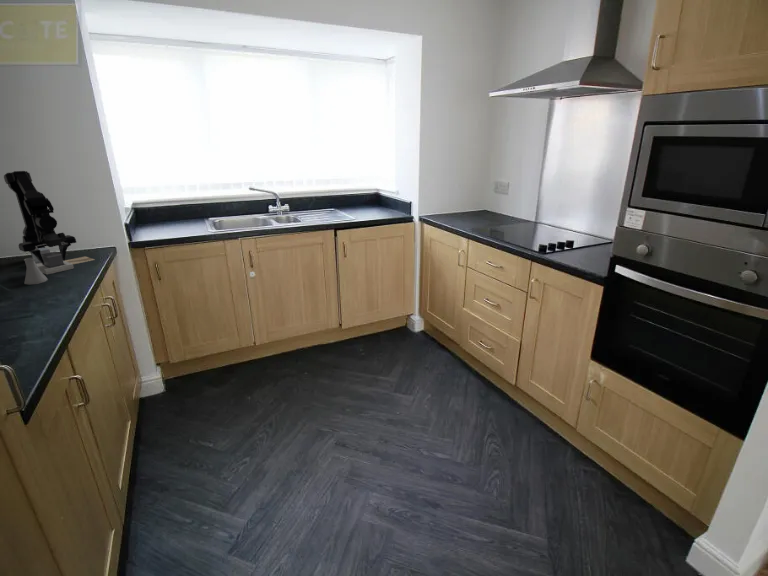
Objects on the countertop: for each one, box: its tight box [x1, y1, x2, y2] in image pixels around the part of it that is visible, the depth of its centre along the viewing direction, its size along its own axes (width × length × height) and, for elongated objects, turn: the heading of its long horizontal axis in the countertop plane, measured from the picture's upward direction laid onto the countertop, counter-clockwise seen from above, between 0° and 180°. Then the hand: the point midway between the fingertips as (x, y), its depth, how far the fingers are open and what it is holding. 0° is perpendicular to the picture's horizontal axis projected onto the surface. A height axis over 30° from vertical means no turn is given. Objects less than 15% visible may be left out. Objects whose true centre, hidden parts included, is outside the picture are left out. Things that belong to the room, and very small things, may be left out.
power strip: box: [24, 261, 75, 275], centre depth 186 cm, size 27×10×3 cm, turn 56°
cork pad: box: [65, 256, 96, 265], centre depth 195 cm, size 10×9×1 cm
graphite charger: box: [41, 251, 64, 268], centre depth 180 cm, size 6×5×7 cm
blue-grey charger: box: [30, 247, 51, 263], centre depth 187 cm, size 6×5×7 cm
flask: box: [23, 257, 49, 285], centre depth 165 cm, size 7×7×10 cm
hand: (53, 262), depth 180 cm, fingers open, 7 cm apart
